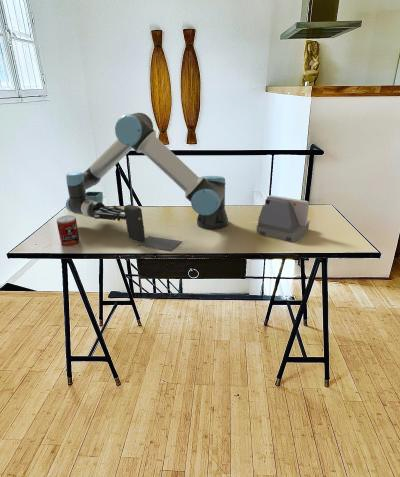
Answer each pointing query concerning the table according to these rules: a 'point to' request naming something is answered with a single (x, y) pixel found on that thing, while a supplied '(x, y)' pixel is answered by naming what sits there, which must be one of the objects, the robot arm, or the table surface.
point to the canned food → (68, 230)
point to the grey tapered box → (283, 218)
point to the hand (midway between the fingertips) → (132, 218)
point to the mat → (159, 243)
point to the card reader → (134, 223)
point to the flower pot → (95, 196)
